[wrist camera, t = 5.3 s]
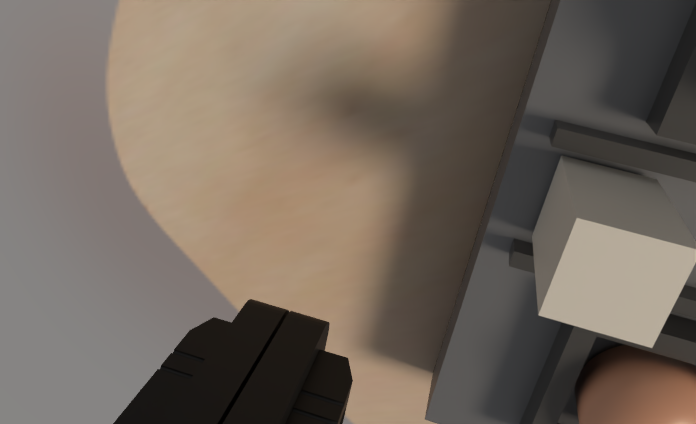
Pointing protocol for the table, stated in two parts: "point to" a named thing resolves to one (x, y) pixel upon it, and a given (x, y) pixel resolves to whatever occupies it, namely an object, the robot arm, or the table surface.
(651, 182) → the slide switch
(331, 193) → the table surface
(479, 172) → the table surface
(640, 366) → the terracotta button
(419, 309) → the table surface
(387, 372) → the table surface
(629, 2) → the switch panel
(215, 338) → the robot arm
